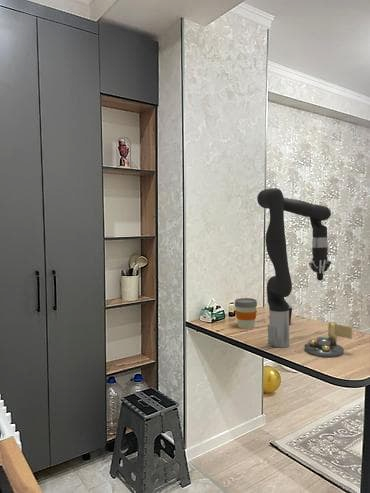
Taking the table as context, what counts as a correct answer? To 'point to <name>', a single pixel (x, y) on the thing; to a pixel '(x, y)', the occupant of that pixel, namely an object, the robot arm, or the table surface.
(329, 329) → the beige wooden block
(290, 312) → the coffee mug
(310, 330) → the table surface
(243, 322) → the reusable coffee cup
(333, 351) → the levelling base
